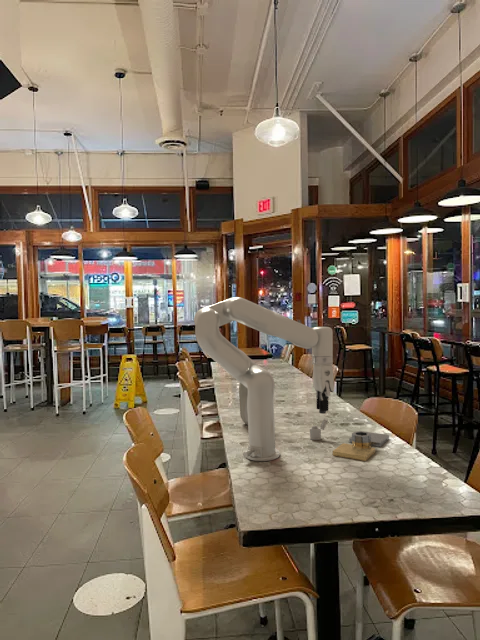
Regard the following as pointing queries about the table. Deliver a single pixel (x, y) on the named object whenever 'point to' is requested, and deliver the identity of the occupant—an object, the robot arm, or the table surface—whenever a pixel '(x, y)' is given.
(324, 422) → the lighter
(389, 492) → the table surface
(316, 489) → the table surface
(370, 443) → the hinge
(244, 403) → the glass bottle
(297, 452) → the table surface
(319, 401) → the dark round-topped peg
